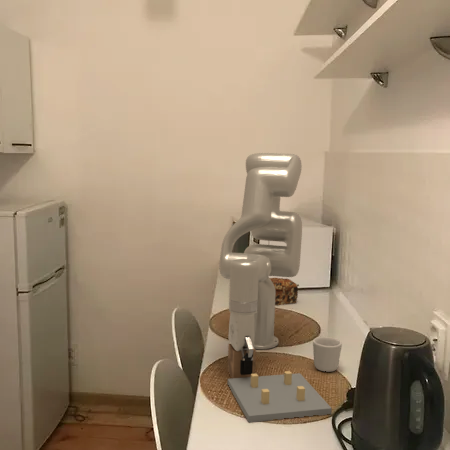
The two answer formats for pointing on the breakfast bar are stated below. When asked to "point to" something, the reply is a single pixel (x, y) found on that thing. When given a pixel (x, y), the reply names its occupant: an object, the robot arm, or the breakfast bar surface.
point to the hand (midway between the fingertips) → (241, 366)
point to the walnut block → (237, 362)
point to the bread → (285, 291)
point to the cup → (326, 353)
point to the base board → (277, 397)
